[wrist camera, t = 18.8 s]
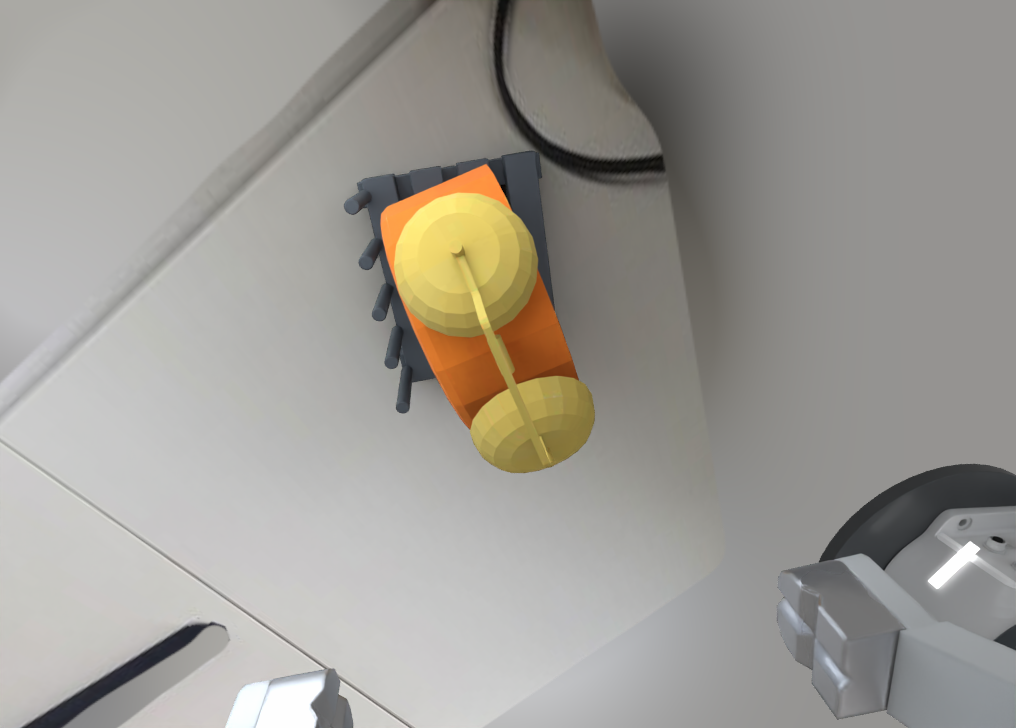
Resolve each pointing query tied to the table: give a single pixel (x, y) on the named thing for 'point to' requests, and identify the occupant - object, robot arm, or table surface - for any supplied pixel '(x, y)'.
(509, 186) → the rack
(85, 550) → the table surface
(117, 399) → the table surface
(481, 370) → the alarm clock
